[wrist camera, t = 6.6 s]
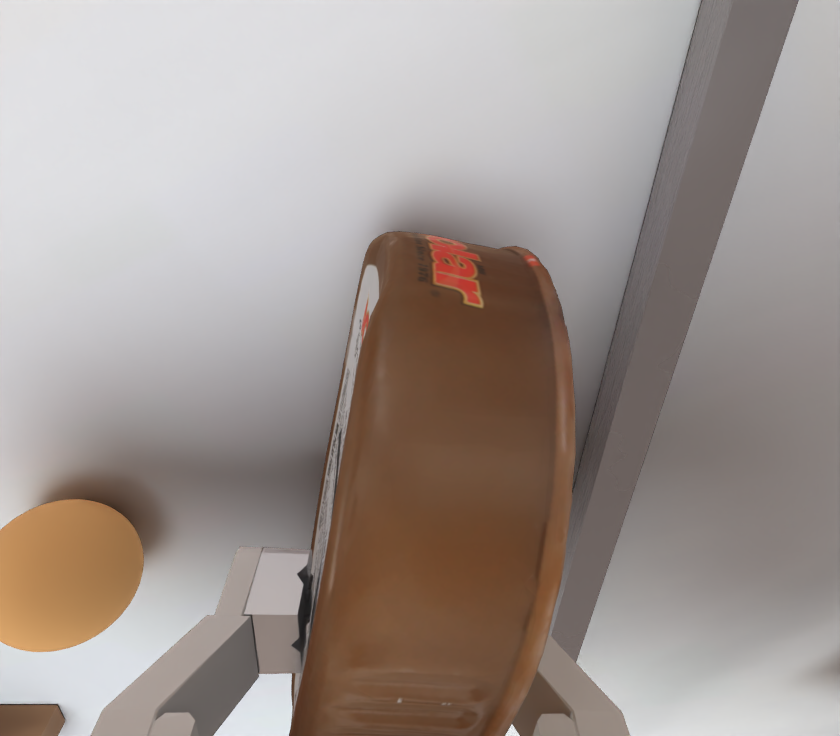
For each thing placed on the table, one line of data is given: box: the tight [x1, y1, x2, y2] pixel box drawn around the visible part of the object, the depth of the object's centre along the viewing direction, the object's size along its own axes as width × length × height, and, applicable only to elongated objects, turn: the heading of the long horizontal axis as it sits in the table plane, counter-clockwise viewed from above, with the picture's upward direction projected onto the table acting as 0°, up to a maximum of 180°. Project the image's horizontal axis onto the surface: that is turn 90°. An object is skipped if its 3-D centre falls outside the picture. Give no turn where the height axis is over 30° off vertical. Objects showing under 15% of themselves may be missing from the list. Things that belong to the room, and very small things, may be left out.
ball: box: [0, 499, 144, 652], centre depth 15 cm, size 4×4×4 cm
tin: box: [289, 231, 576, 736], centre depth 11 cm, size 15×3×8 cm, turn 167°
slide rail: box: [549, 0, 799, 663], centre depth 13 cm, size 1×32×1 cm, turn 177°
